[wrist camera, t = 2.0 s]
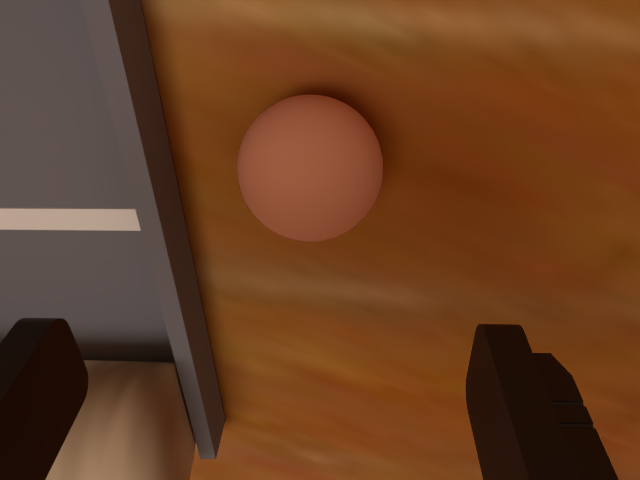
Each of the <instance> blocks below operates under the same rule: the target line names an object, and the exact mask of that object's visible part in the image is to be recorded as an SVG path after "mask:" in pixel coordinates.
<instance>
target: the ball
mask: <svg viewBox="0 0 640 480" xmlns="http://www.w3.org/2000/svg"><path fill="white" fill-rule="evenodd" d="M237 174H238V182H239V187H240V190H241V193H242V195H243V198H244V200H245V202H246V204H247V206H248V207H249V209H250V210H251V212H252V213H253V214H254V216H255V217H256V218H257V219H258V220H259V221H260V222H261V223H262V224H263V225H264V226H266V227H267V228H269V229H270V230H272V231H273V232H275V233H277V234H279V235H281V236H284V237H286V238H289V239H293V240H297V241H306V242H315V241H323V240H328V239H332V238H335V237H337V236H340V235H342V234H344V233H346V232H347V231H349V230H350V229H352V228H353V227H355V226H356V225H357V224H358V223H359V222H361V221H362V220H363V219H364V217H365V216H366V215H367V214H368V212H369V211H370V210H371V208H372V207H373V205H374V203H375V201H376V199H377V197H378V194H379V191H380V188H381V184H382V178H383V158H382V152H381V148H380V145H379V142H378V139H377V137H376V135H375V133H374V131H373V130H372V128H371V127H370V125H369V124H368V123H367V121H366V120H365V119H364V118H363V117H362V116H361V115H360V114H359V113H358V112H357V111H356V110H354V109H353V108H352V107H350V106H349V105H347V104H345V103H343V102H341V101H339V100H337V99H334V98H331V97H328V96H322V95H312V94H308V95H298V96H293V97H289V98H286V99H283V100H281V101H279V102H277V103H275V104H273V105H271V106H270V107H269V108H267V109H266V110H264V111H263V112H262V113H261V114H260V115H259V116H258V117H257V118H256V119H255V120H254V122H253V123H252V124H251V125H250V127H249V129H248V130H247V132H246V134H245V135H244V138H243V140H242V143H241V146H240V150H239V154H238V161H237Z"/></svg>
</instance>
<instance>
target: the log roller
mask: <svg viewBox="0 0 640 480" xmlns="http://www.w3.org/2000/svg"><path fill="white" fill-rule="evenodd" d="M83 361H84V363H85V366H86V368H87V371H88V391H87V395H86V398H85V401H84V403H83V405H82V407H81V409H80V411H79V413H78V415H77V417H76V419H75V421H74V423H73V425H72V427H71V429H70V431H69V433H68V435H67V437H66V439H65V441H64V443H63V445H62V447H61V449H60V451H59V453H58V455H57V457H56V459H55V461H54V463H53V465H52V467H51V469H50V471H49V474H48V476H47V478H46V480H189V479H190V474H191V470H192V464H193V458H194V451H195V443H196V440H195V436H194V432H193V428H192V424H191V421H190V417H189V413H188V409H187V405H186V401H185V398H184V394H183V390H182V386H181V382H180V378H179V375H178V371H177V367H176V363H175V362H139V361H98V360H83Z"/></svg>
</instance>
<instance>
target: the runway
mask: <svg viewBox="0 0 640 480" xmlns="http://www.w3.org/2000/svg"><path fill="white" fill-rule="evenodd" d="M22 318H63V319H65V320H66V321H67V322H68V324H69V326H70V328H71V331H72V333H73V336H74V338H75V341H76V343H77V346H78V348H79V351H80V353H81V356H82V358H83V360H98V361H139V362H175V363H176V367H177V371H178V375H179V378H180V382H181V386H182V390H183V394H184V398H185V401H186V405H187V409H188V413H189V417H190V421H191V424H192V428H193V432H194V436H195V440H196V443H197V447H198V451H199V455H200V459H216V456H217V452H218V448H219V444H220V440H221V435H222V431H223V427H224V423H225V416H224V411H223V406H222V401H221V396H220V391H219V386H218V381H217V376H216V371H215V366H214V361H213V356H212V351H211V346H210V342H209V337H208V332H207V327H206V322H205V317H204V312H203V307H202V302H201V297H200V292H199V287H198V282H197V277H196V272H195V267H194V263H193V258H192V253H191V248H190V243H189V238H188V233H187V228H186V223H185V218H184V213H183V208H182V203H181V198H180V193H179V189H178V184H177V179H176V174H175V169H174V164H173V159H172V154H171V149H170V144H169V139H168V134H167V129H166V124H165V119H164V114H163V110H162V105H161V100H160V95H159V90H158V85H157V80H156V75H155V70H154V65H153V60H152V55H151V50H150V45H149V40H148V36H147V31H146V26H145V21H144V16H143V11H142V6H141V1H140V0H0V343H1V342H2V340H3V339H4V338H5V336H6V335H7V334H8V332H9V331H10V330H11V328H12V327H13V326H14V324H15V323H16V322H17V321H18V320H20V319H22Z"/></svg>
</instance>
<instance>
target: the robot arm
mask: <svg viewBox="0 0 640 480" xmlns="http://www.w3.org/2000/svg"><path fill="white" fill-rule="evenodd" d="M87 391H88V371H87V368H86V366H85V363H84V361H83V358H82V356H81V353H80V351H79V348H78V346H77V343H76V341H75V338H74V336H73V333H72V331H71V328H70V326H69V324H68V322H67V321H66V320H65V319H63V318H22V319H20V320H18V321H17V322H16V323H15V324H14V326H13V327H12V328H11V330H10V331H9V332H8V334H7V335H6V336H5V338H4V339H3V340H2V342H1V343H0V480H46V478H47V476H48V474H49V471H50V469H51V467H52V465H53V463H54V461H55V459H56V457H57V455H58V453H59V451H60V449H61V447H62V445H63V443H64V441H65V439H66V437H67V435H68V433H69V431H70V429H71V427H72V425H73V423H74V421H75V419H76V417H77V415H78V413H79V411H80V409H81V407H82V405H83V403H84V401H85V398H86V395H87ZM466 402H467V409H468V414H469V418H470V422H471V427H472V431H473V436H474V440H475V445H476V449H477V454H478V458H479V463H480V467H481V471H482V476H483V480H618V478H617V475H616V473H615V471H614V469H613V466H612V464H611V462H610V460H609V457H608V455H607V453H606V451H605V449H604V446H603V444H602V442H601V440H600V437H599V435H598V433H597V431H596V429H594V428H593V422H592V419H591V417H590V415H589V413H588V411H587V408H586V407H584V405H583V399H582V397H581V395H580V393H579V390H578V388H577V386H576V384H575V381H574V379H573V377H572V375H571V374H570V373H569V372H568V371H567V370H566V369H565V368H564V367H563V366H562V365H561V364H560V363H559V362H558V361H557V360H556V359H555V358H554V356H553V355H552V354H551V353H532V351H531V348H530V345H529V343H528V340H527V338H526V335H525V332H524V330H523V328H522V327H521V326H520V325H508V324H479V325H478V326H477V328H476V332H475V337H474V342H473V347H472V352H471V357H470V362H469V367H468V372H467V378H466Z"/></svg>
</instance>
